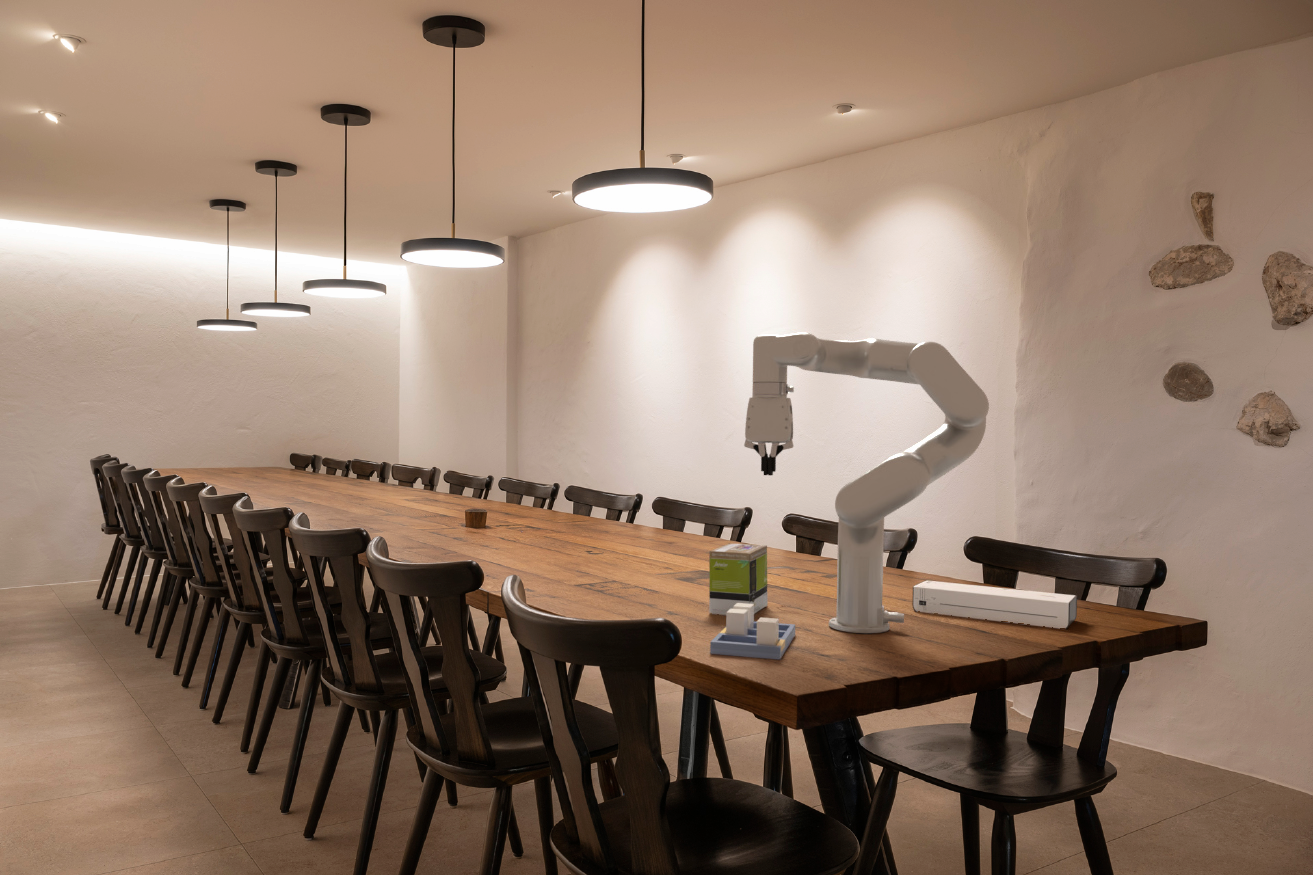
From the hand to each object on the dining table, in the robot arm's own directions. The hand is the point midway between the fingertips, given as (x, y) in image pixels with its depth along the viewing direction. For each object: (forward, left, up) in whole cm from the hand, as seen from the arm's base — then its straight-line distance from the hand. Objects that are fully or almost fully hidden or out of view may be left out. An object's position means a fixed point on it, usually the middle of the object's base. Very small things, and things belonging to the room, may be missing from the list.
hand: (768, 474), depth 198 cm
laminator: (-49, -24, -33) cm, 63 cm away
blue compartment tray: (-2, +23, -32) cm, 39 cm away
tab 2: (+2, +16, -31) cm, 35 cm away
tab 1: (+2, +22, -31) cm, 38 cm away
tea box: (+8, -10, -32) cm, 35 cm away
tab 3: (-5, +29, -31) cm, 43 cm away
